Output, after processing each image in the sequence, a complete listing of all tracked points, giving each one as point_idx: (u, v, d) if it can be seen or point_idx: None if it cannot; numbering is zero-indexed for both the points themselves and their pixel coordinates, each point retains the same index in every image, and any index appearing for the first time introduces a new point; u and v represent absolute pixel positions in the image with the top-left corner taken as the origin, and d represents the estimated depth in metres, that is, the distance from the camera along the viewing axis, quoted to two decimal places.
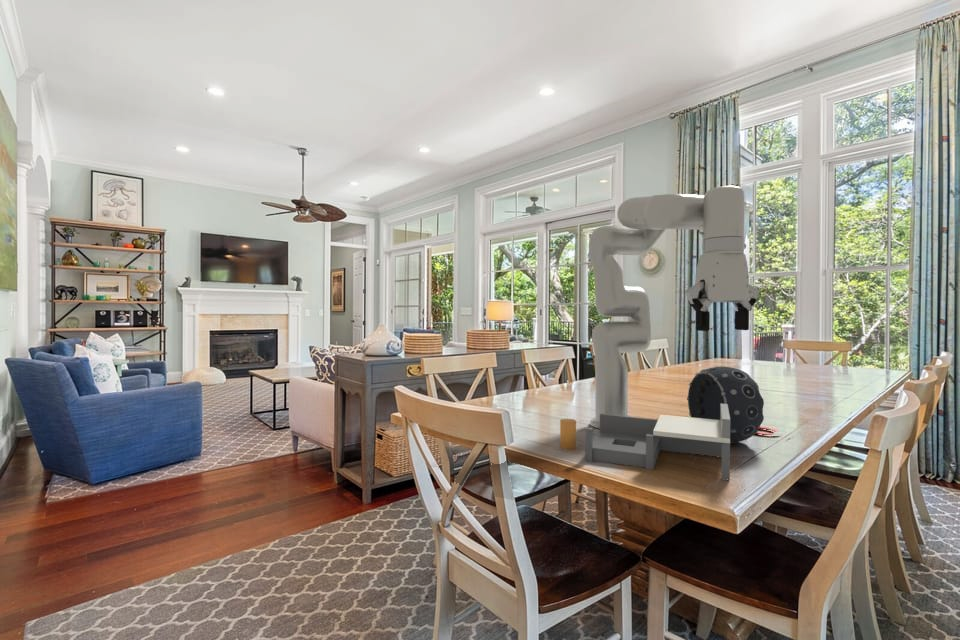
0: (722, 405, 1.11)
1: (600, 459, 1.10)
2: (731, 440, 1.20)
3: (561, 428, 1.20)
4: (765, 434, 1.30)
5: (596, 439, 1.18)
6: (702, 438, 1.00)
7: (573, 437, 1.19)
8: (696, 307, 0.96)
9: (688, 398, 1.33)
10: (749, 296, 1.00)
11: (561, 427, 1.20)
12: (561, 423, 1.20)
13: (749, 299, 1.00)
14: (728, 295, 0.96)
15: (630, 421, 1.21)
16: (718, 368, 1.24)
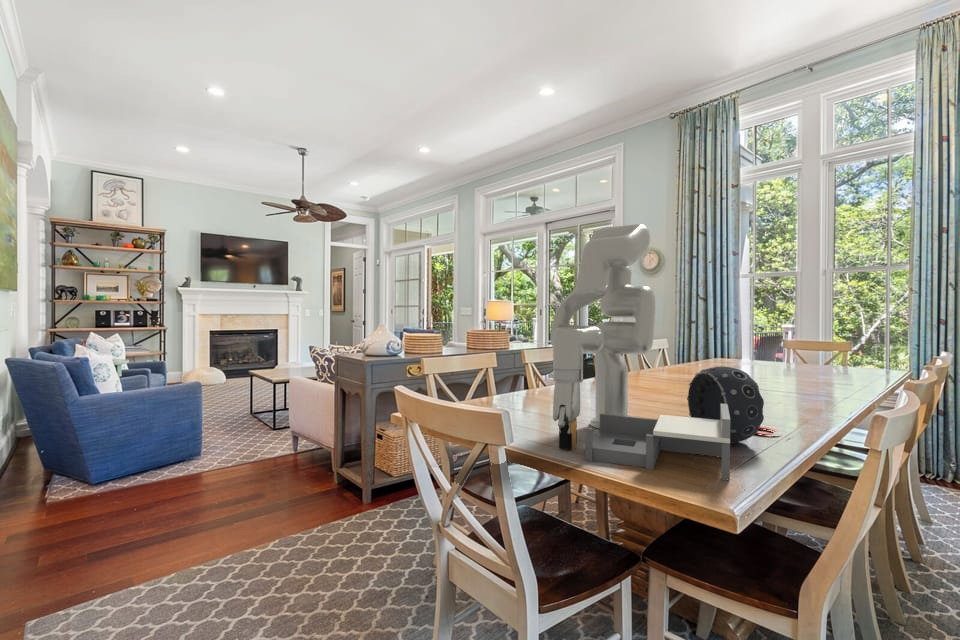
0: (722, 405, 1.11)
1: (600, 459, 1.10)
2: (731, 440, 1.20)
3: None
4: (765, 434, 1.30)
5: (596, 439, 1.18)
6: (702, 438, 1.00)
7: (573, 437, 1.19)
8: (564, 431, 1.17)
9: (688, 398, 1.33)
10: None
11: None
12: None
13: None
14: (575, 415, 1.19)
15: (630, 421, 1.21)
16: (718, 368, 1.24)
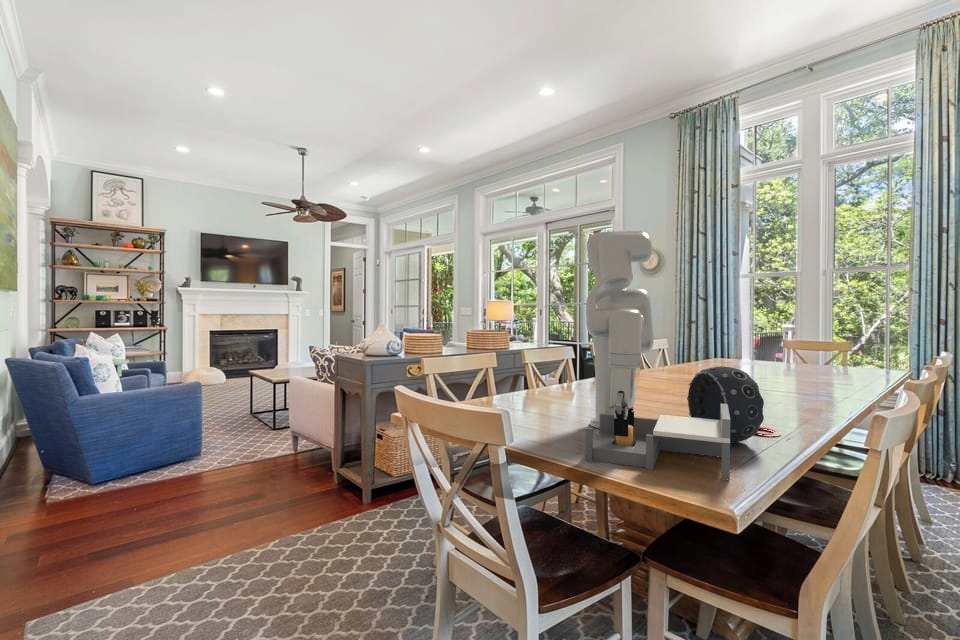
0: (722, 405, 1.11)
1: (600, 459, 1.10)
2: (731, 440, 1.20)
3: None
4: (765, 434, 1.30)
5: (596, 439, 1.18)
6: (702, 438, 1.00)
7: (630, 444, 1.13)
8: (621, 417, 1.09)
9: (688, 398, 1.33)
10: None
11: None
12: None
13: None
14: (633, 402, 1.13)
15: None
16: (718, 368, 1.24)
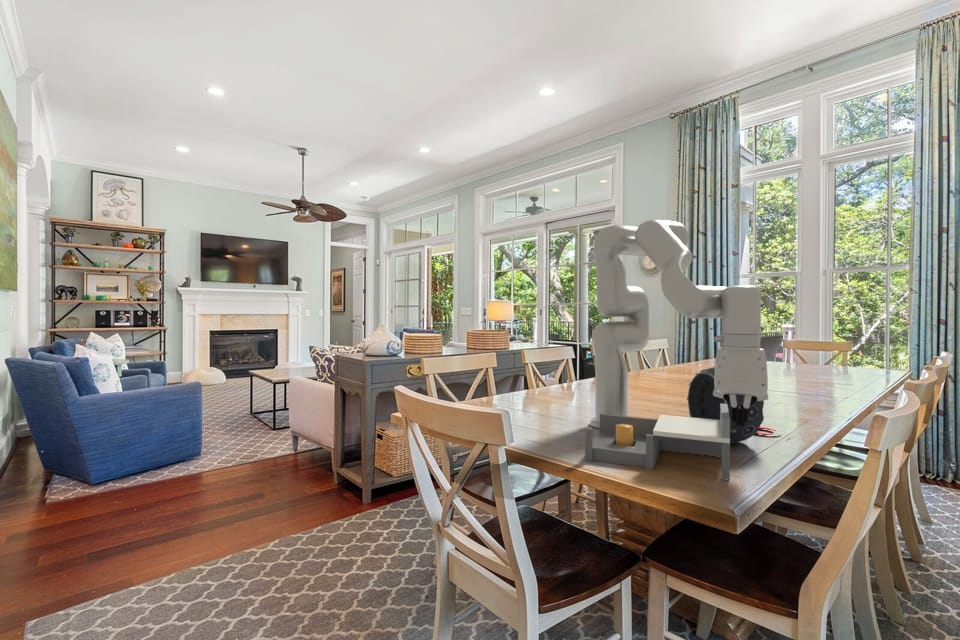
0: (722, 405, 1.11)
1: (600, 459, 1.10)
2: (731, 440, 1.20)
3: (617, 434, 1.14)
4: (765, 434, 1.30)
5: (596, 439, 1.18)
6: (702, 438, 1.00)
7: (630, 444, 1.13)
8: None
9: (688, 398, 1.33)
10: (723, 392, 1.05)
11: (617, 433, 1.14)
12: (617, 428, 1.14)
13: (728, 395, 1.05)
14: None
15: (630, 421, 1.21)
16: None
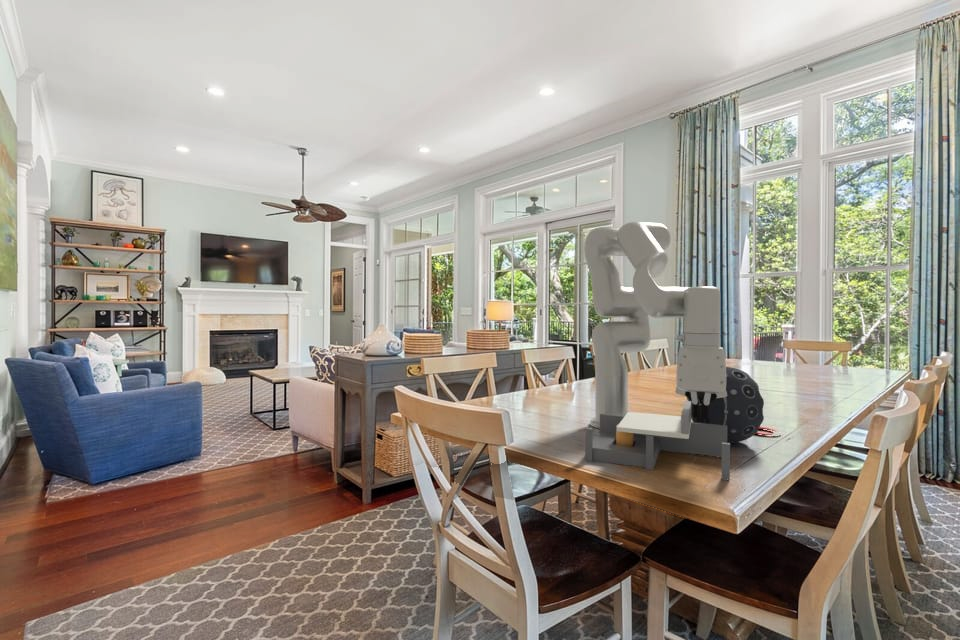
0: (686, 402, 1.14)
1: (600, 459, 1.10)
2: (731, 440, 1.20)
3: (618, 434, 1.14)
4: (765, 434, 1.30)
5: (596, 439, 1.18)
6: (662, 434, 1.03)
7: (631, 444, 1.13)
8: (711, 400, 1.07)
9: None
10: None
11: (618, 433, 1.14)
12: None
13: (690, 392, 1.08)
14: None
15: None
16: None
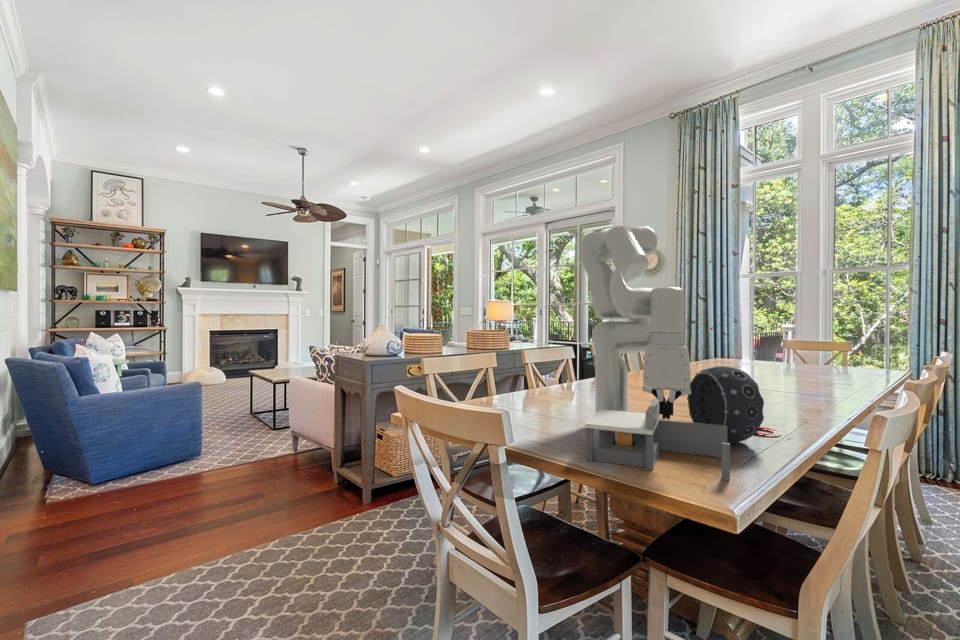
0: (654, 400, 1.17)
1: (600, 459, 1.10)
2: (731, 440, 1.20)
3: (617, 434, 1.14)
4: (765, 434, 1.30)
5: (596, 439, 1.18)
6: (628, 430, 1.06)
7: (630, 444, 1.13)
8: (676, 398, 1.10)
9: (688, 398, 1.33)
10: (651, 387, 1.12)
11: (617, 433, 1.14)
12: None
13: None
14: None
15: None
16: (718, 368, 1.24)
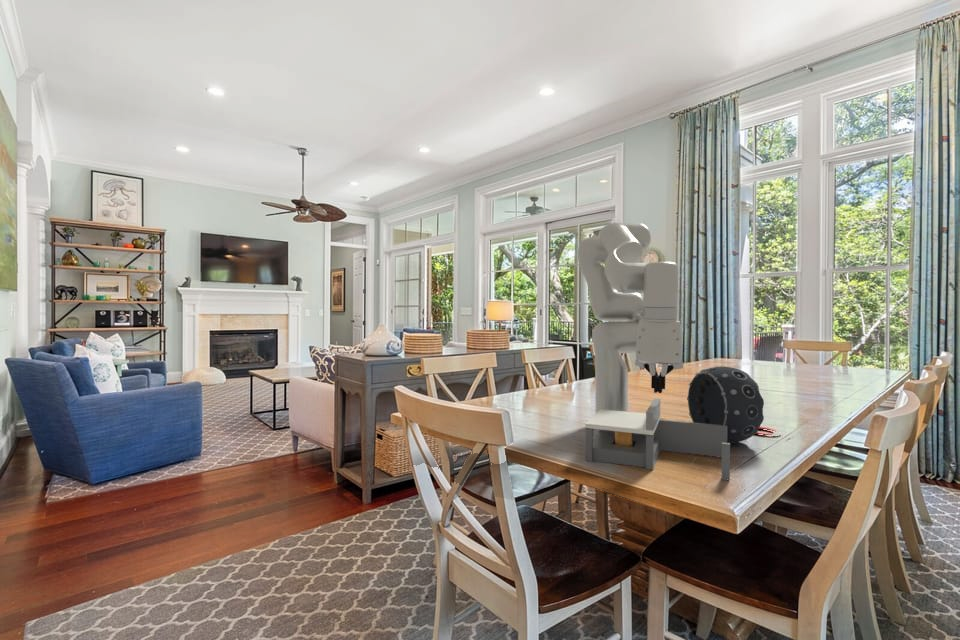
0: (654, 400, 1.17)
1: (600, 459, 1.10)
2: (731, 440, 1.20)
3: (617, 434, 1.14)
4: (765, 434, 1.30)
5: (596, 439, 1.18)
6: (628, 430, 1.06)
7: (630, 443, 1.14)
8: (668, 372, 1.11)
9: (688, 398, 1.33)
10: None
11: (617, 433, 1.14)
12: None
13: (649, 364, 1.13)
14: None
15: None
16: (718, 368, 1.24)
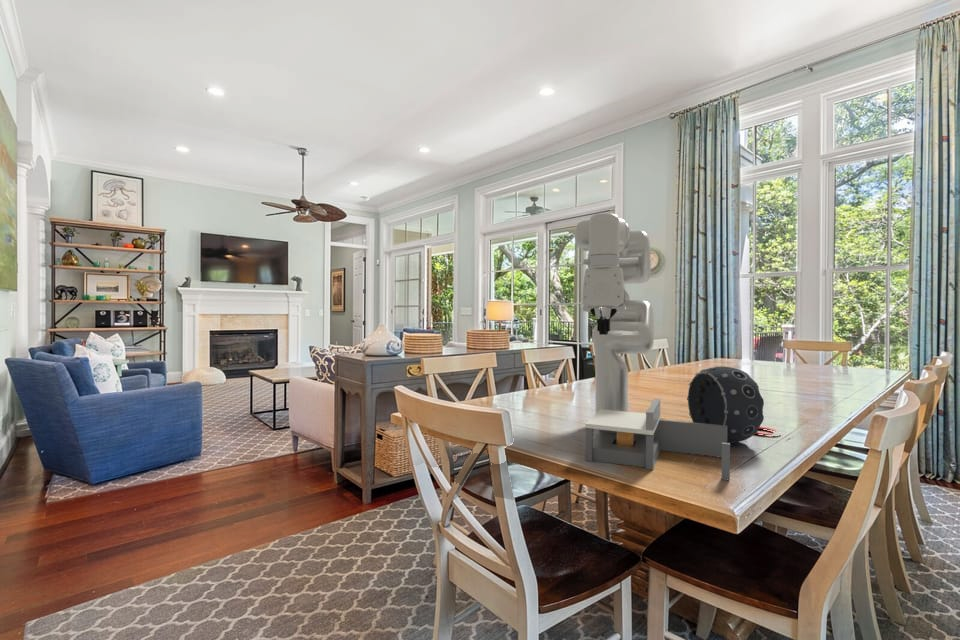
0: (654, 400, 1.17)
1: (600, 459, 1.10)
2: (731, 440, 1.20)
3: (620, 434, 1.14)
4: (765, 434, 1.30)
5: (596, 439, 1.18)
6: (628, 430, 1.06)
7: (632, 443, 1.14)
8: (612, 315, 1.20)
9: (688, 398, 1.33)
10: None
11: (621, 432, 1.14)
12: None
13: None
14: None
15: None
16: (718, 368, 1.24)
